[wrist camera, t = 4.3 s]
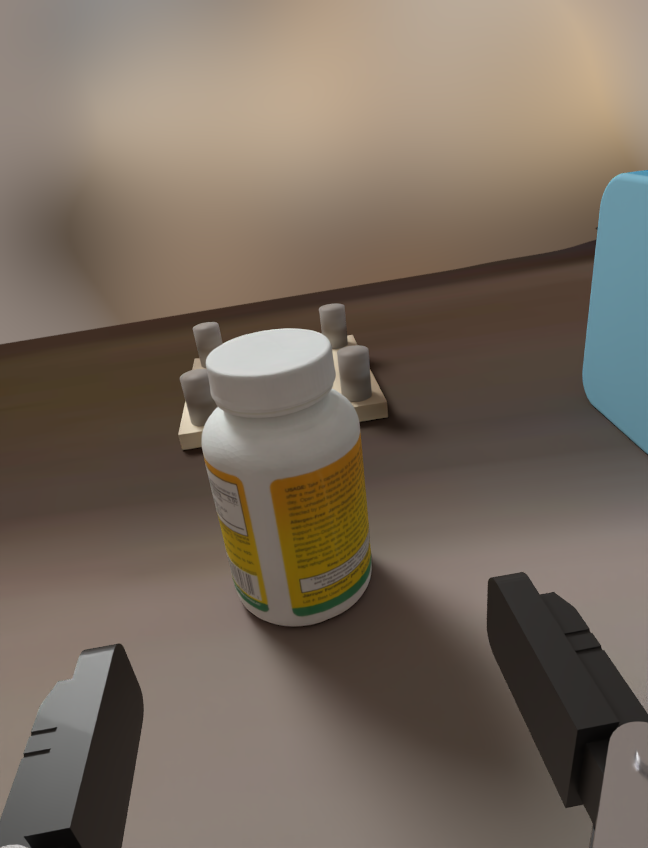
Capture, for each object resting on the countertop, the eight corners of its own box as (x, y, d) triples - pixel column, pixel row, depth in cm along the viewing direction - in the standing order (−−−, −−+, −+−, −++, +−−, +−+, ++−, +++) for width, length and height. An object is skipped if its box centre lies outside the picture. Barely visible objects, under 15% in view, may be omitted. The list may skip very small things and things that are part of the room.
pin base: (353, 347, 44) (348, 299, 42) (388, 417, 33) (383, 356, 32) (197, 371, 43) (186, 323, 41) (182, 450, 33) (166, 389, 31)
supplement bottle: (215, 622, 21) (147, 385, 16) (264, 529, 25) (222, 322, 21) (358, 641, 19) (327, 386, 15) (384, 539, 24) (366, 318, 19)
